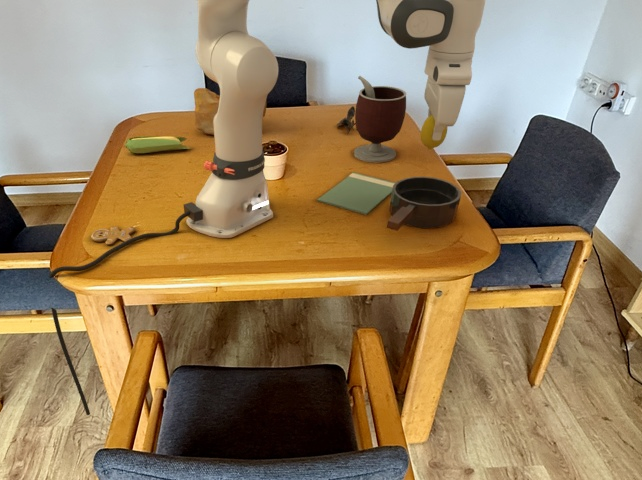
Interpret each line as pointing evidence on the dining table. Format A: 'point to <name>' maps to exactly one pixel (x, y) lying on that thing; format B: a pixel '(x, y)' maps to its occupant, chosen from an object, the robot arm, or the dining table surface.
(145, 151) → the edible corn
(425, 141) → the lemon
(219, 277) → the dining table surface
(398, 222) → the pan handle
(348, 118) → the eagle figurine
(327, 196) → the tea towel
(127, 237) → the cookie
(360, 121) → the mate gourd
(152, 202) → the dining table surface
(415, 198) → the pan
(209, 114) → the rough brown rock
